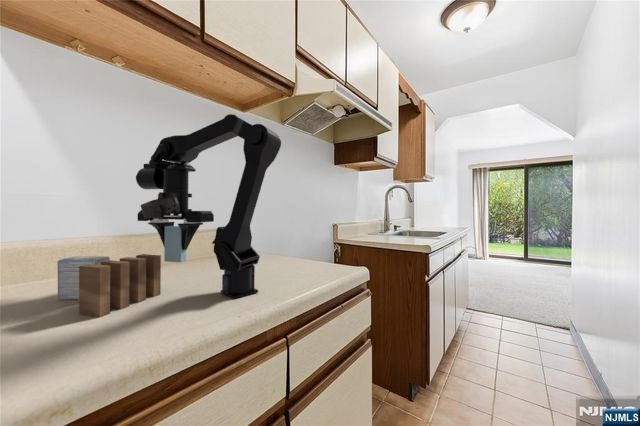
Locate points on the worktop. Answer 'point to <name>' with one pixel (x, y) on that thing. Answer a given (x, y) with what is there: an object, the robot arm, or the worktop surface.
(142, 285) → the tile
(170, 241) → the tile
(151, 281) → the tile
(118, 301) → the tile
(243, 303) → the worktop surface
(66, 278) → the medicine box
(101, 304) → the tile
